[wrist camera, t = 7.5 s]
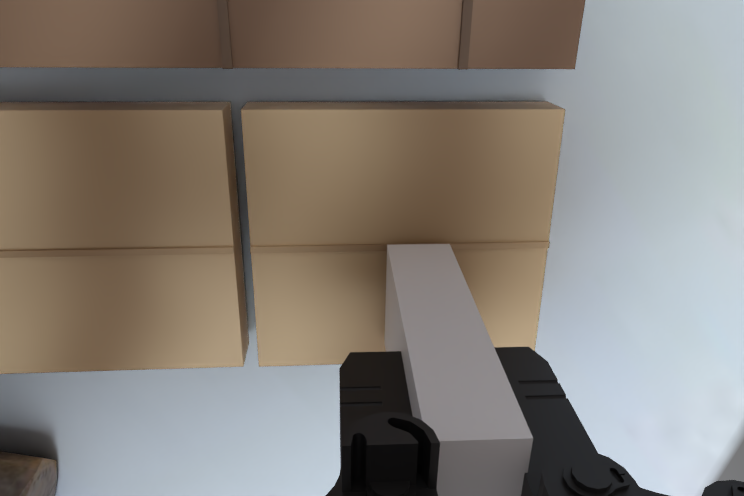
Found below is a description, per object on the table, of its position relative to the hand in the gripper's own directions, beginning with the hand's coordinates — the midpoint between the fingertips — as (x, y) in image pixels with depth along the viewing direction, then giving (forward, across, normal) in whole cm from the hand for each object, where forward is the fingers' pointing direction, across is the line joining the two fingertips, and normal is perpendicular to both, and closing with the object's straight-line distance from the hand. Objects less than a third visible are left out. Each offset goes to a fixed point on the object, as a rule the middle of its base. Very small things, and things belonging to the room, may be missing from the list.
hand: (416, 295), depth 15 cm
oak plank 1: (+2, -8, +1) cm, 8 cm away
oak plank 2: (+2, 0, +1) cm, 2 cm away
